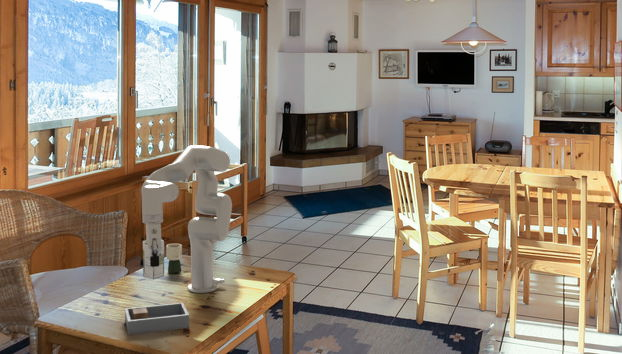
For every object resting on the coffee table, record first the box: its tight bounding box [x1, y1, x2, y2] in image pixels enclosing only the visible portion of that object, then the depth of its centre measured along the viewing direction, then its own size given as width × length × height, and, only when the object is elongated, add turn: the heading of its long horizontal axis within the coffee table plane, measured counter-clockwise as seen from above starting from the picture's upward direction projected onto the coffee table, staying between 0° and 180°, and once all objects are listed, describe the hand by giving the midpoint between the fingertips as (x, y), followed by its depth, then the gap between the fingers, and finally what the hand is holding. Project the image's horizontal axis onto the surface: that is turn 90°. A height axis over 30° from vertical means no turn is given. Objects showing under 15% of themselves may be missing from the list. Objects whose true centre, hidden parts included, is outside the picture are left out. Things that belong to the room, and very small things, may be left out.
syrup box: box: [142, 239, 165, 281], centre depth 269 cm, size 6×6×14 cm
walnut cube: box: [133, 308, 148, 320], centre depth 264 cm, size 5×5×5 cm
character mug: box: [165, 243, 183, 274], centre depth 329 cm, size 11×7×13 cm, turn 33°
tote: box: [124, 302, 190, 336], centre depth 266 cm, size 22×14×5 cm, turn 109°
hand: (153, 263), depth 269 cm, fingers closed on syrup box, 7 cm apart
